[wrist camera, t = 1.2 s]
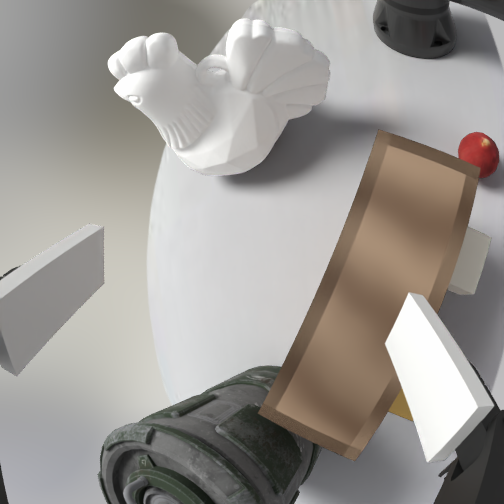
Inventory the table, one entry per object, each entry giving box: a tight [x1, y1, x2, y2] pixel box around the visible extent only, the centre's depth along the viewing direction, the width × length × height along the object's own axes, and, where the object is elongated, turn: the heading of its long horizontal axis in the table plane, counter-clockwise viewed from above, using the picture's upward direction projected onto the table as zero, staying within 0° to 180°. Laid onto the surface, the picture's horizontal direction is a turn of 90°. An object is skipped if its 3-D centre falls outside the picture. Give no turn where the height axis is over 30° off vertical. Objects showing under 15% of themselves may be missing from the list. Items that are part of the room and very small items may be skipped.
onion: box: [458, 132, 499, 178], centre depth 30 cm, size 6×6×8 cm
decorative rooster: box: [108, 19, 330, 176], centre depth 35 cm, size 25×16×25 cm, turn 79°
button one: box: [447, 226, 491, 295], centre depth 24 cm, size 5×5×5 cm
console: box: [258, 129, 481, 461], centre depth 28 cm, size 22×8×20 cm, turn 155°
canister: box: [98, 366, 322, 504], centre depth 27 cm, size 16×16×28 cm
